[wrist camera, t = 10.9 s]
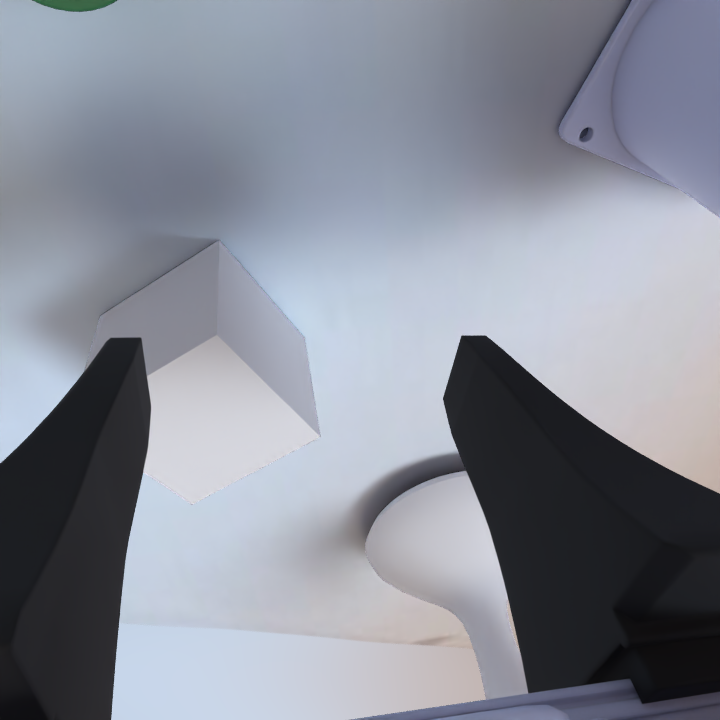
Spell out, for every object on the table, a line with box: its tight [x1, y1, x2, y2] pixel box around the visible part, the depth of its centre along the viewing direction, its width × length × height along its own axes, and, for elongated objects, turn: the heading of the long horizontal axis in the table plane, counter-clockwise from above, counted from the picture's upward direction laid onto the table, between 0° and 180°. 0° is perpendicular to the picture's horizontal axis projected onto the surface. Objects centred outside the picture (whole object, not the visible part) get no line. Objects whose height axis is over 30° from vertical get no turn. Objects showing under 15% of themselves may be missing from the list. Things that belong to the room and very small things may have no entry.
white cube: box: [84, 240, 321, 505], centre depth 22 cm, size 6×6×6 cm
